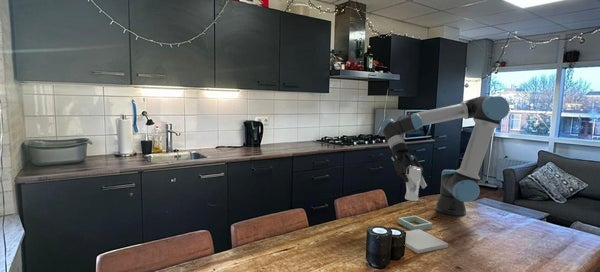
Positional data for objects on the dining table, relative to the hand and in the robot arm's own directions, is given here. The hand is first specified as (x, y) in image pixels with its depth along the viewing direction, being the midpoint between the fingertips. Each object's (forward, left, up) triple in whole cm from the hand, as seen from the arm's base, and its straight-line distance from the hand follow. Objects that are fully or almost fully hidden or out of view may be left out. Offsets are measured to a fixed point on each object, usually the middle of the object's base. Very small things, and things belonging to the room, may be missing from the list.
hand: (418, 187), depth 144 cm
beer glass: (0, -4, -7) cm, 8 cm away
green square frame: (-5, -5, -20) cm, 22 cm away
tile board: (+7, +10, -20) cm, 24 cm away
